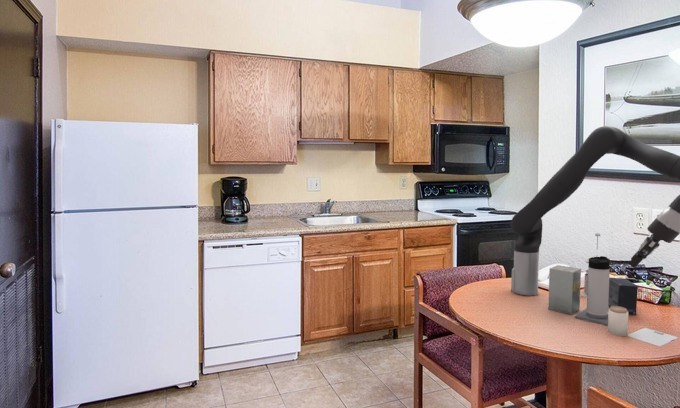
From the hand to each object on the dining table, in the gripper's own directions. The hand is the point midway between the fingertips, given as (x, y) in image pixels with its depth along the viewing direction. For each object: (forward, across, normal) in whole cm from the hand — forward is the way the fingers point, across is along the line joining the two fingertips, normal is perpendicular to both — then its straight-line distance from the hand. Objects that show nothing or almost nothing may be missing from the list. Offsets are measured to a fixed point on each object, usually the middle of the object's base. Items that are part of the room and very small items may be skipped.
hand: (632, 263), depth 145 cm
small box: (+18, -12, +8) cm, 23 cm away
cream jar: (+18, +12, +9) cm, 24 cm away
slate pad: (+22, +2, +3) cm, 22 cm away
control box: (+27, -1, -6) cm, 28 cm away
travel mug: (+21, +2, +3) cm, 21 cm away
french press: (+24, -26, 0) cm, 35 cm away
